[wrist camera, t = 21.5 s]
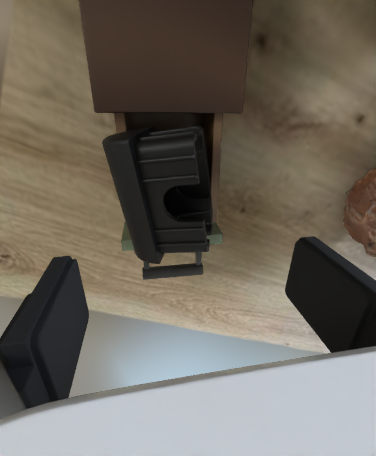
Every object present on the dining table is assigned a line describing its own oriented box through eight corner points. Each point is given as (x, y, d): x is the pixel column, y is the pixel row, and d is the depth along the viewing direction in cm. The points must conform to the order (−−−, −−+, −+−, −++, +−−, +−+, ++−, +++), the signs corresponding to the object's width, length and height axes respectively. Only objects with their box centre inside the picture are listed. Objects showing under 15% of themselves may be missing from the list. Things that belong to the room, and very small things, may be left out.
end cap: (124, 129, 22) (84, 144, 16) (203, 118, 20) (190, 130, 14) (149, 226, 27) (124, 265, 21) (214, 223, 25) (207, 265, 19)
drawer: (206, 250, 34) (219, 280, 28) (131, 256, 33) (127, 289, 27) (213, 93, 26) (234, 88, 20) (112, 91, 24) (101, 85, 18)
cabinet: (216, 112, 28) (242, 113, 20) (110, 111, 26) (94, 112, 18) (226, -91, 21) (272, -208, 13) (83, -109, 19) (41, -254, 12)
